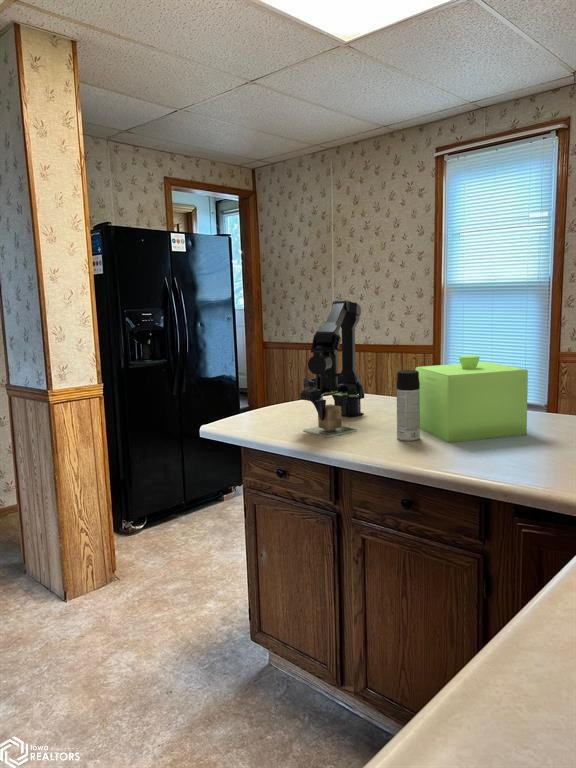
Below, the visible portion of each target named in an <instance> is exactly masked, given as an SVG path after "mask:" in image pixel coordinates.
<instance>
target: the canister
mask: <svg viewBox="0 0 576 768" xmlns="http://www.w3.org/2000/svg"><path fill="white" fill-rule="evenodd" d="M480 358H481V357H480V356H479V355H475V354H473V355H472V354H468V355H467V354H466V355H465V354H464V355H461V356H458V359H459V363H453V364H451V363H450V364H442V365H441V364H439V365H426V366H425V365H423V366H416V367H415V371H418V372H419V381H420V430H422V431H424V432H425V433H428V434H430V435H432V436H434V437H436V438H438V439H439V440H442V441H444V442H446V443H457V442H458V443H459V442H466V441H467V442H468V441H477V440H478V439H479V440H485V439H487V438H488V439H494V438H495V439H496V438H497V437H498V438H506V437H507V436H508V437H517V436H525V435H527V433H528V432H527V431H528V429H527V427H528V391H529V388H528V386H529V385H528V384H529V370H528V369H527V368H520V367H517V366H510V365H506V364H501V363H500V364H499V363H496V362H489V361H481V362H480ZM479 440H478V441H479Z"/></svg>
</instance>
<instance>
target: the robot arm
mask: <svg viewBox="0 0 576 768" xmlns="http://www.w3.org/2000/svg"><path fill="white" fill-rule="evenodd" d="M331 306H332V307H331V309H330V311H329V314H328V316H327V318H326V321H325V323H324V324H323V325H320V326H319V327H318V329H317V330H316V331H315V332H314V334H313V338H312V345H311V347H310V353H311V354H313V356H311V357H310V358H309V360H308V363H307V367H308V370H309V371H310V372H311V374H313V375H315V378H312V377H311V376H310V377H308V376H307V377H304V378H303V387H304V388H305V389H302V390H301V392H300V394H299V396H300V400H303V401H306V402H307V401H308V402H311V403H312V404H313V405H314V407H315V409H316V412H317V416H318V415H319V417H320V420H322V421H323V420H324V415H325V406H326V405H327V403H326V402H327V399H324V396H329V395H331V396H332V398H333V403H334V404H333V405H337V406H341V416H345V417H349V418H353V417H359V416H363V415H365V413H364V412H362V411H361V410H362V409H361V408H362V407H361V400H362V399H365V390H364V387H363V384H362V382H361V376H360V374H359V373H358V371H357V369H356V328H357V327H356V326H357V325H358V323H359V322H360V316H361V315H362V308H361V305H360V304H359V303H357V302H356V301H355V302H353V301H349V300H347V299H335V300H333V301H332V304H331ZM340 328H341V329H340ZM340 330H341V335H340V333H339V331H340ZM340 344H341V369H342V370H341V371H340V372H338V359H337V358H338V357H337V354H338V351H339V348H340Z"/></svg>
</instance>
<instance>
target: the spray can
mask: <svg viewBox="0 0 576 768" xmlns="http://www.w3.org/2000/svg"><path fill="white" fill-rule="evenodd" d="M396 374H397V375H396V436H397V437H396V438H397V440H399V441H404V442H406V441H407V442H413V441H415V442H416V441H418V440H419V439H420V438H421V429H420V381H419V372H418V371H416V369H411V370H410V369H404V370H398V371H397V373H396Z"/></svg>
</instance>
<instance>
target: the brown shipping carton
mask: <svg viewBox="0 0 576 768" xmlns="http://www.w3.org/2000/svg"><path fill="white" fill-rule="evenodd" d="M317 418H318V419H317V422H318V423H317V424H318V426H317V427H319V428H322V429H326V430H332V429H337V428H341V427H342V426H343V425H342V415H341V406H337V405H334V404H332V403H331V404H326V406H325V415H324V420H323V421H322V420H320V417H319V415H318V414H317Z"/></svg>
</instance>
